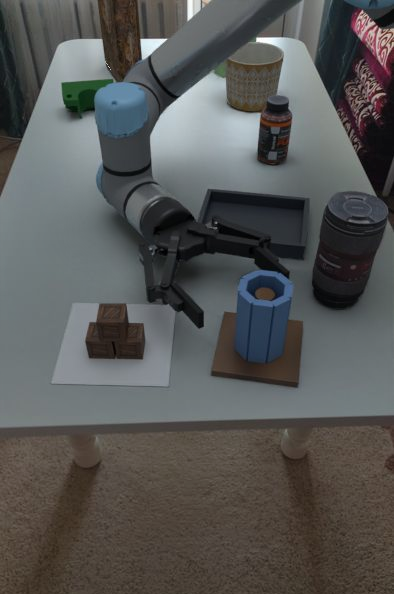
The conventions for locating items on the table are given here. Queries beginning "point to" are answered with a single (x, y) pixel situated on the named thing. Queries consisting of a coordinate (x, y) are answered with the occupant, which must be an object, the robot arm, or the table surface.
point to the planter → (253, 75)
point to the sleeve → (262, 316)
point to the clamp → (82, 94)
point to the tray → (262, 217)
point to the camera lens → (347, 247)
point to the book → (120, 35)
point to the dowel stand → (237, 367)
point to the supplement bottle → (274, 130)
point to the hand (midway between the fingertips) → (245, 299)
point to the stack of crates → (116, 345)
